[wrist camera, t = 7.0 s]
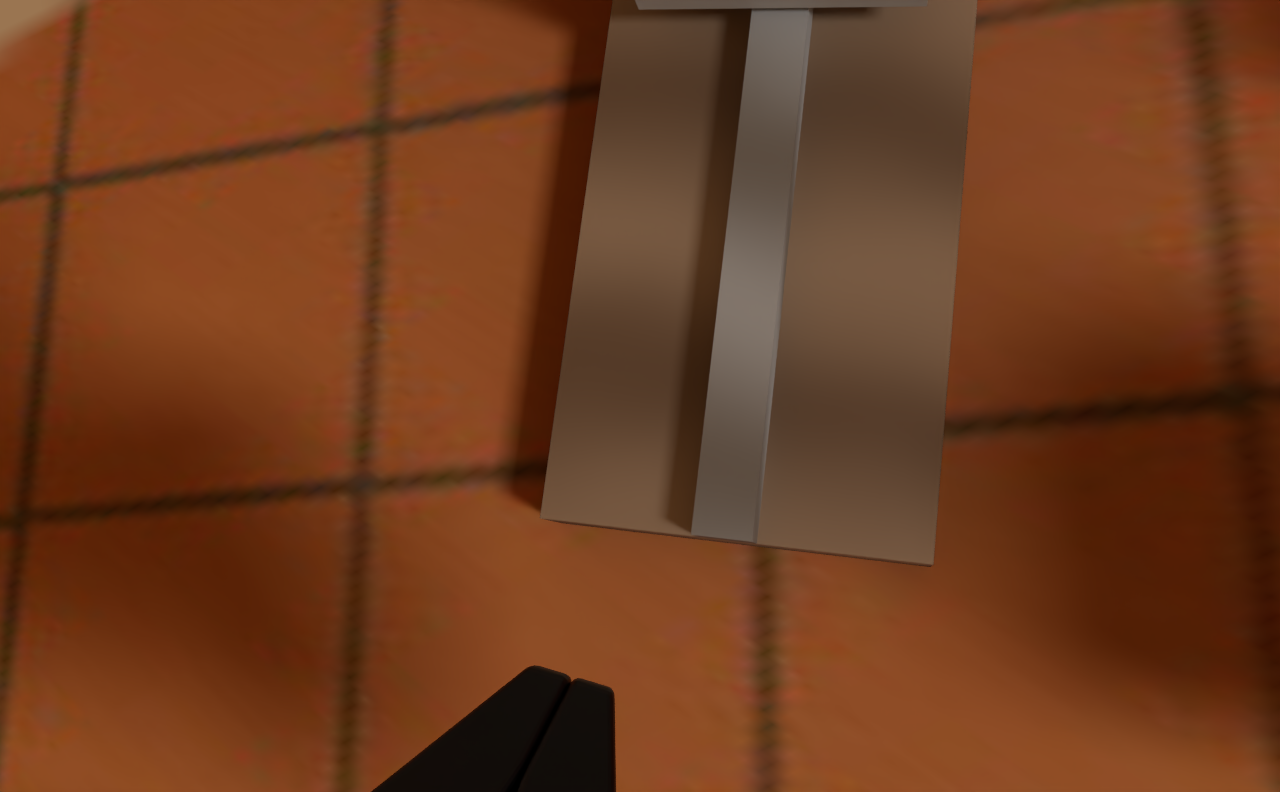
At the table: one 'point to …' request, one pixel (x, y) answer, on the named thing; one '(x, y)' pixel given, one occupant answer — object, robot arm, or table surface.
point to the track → (767, 279)
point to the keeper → (772, 4)
